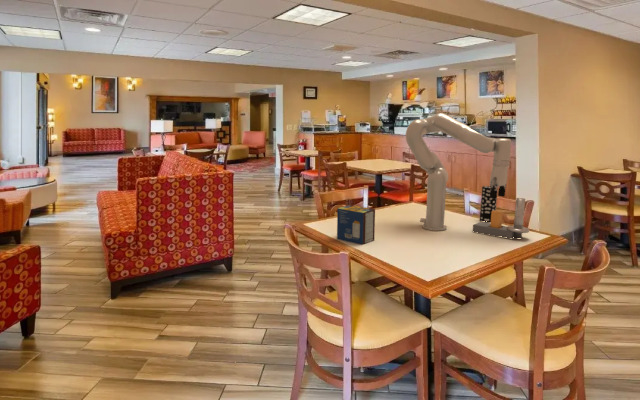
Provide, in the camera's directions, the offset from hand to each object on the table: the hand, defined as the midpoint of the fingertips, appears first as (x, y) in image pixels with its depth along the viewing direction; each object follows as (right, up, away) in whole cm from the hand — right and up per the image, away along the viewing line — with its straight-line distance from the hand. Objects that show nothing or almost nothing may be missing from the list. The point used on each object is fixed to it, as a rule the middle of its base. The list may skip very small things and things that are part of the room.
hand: (497, 197), depth 214 cm
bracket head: (0, -19, +3) cm, 19 cm away
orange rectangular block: (0, -19, +3) cm, 19 cm away
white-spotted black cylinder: (+8, -14, +32) cm, 36 cm away
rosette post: (+8, -20, -5) cm, 22 cm away
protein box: (-73, -21, -9) cm, 76 cm away
